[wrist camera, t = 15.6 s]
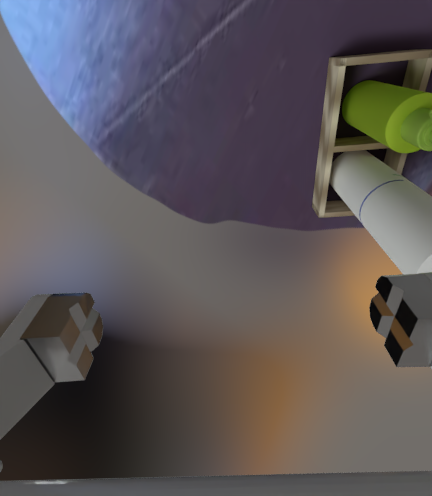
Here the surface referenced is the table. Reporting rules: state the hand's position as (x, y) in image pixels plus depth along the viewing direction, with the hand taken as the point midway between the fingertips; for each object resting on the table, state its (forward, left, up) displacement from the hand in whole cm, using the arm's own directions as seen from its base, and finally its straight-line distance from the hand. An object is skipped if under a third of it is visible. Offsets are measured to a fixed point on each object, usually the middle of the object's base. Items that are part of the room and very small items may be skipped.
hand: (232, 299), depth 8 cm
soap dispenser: (+2, +20, -39) cm, 44 cm away
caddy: (+7, +20, -39) cm, 44 cm away
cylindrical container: (+12, +20, -39) cm, 46 cm away
